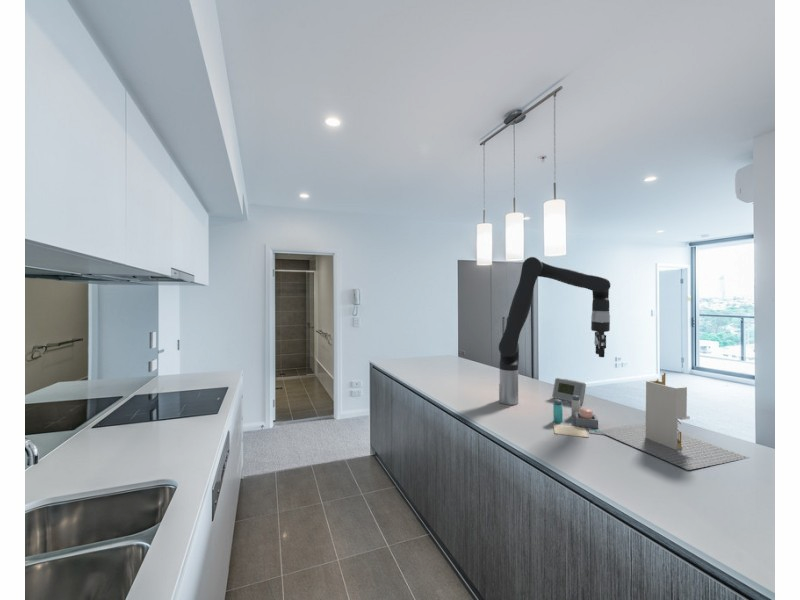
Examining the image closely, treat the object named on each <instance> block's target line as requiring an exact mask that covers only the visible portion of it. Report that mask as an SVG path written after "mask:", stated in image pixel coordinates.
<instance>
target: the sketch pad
mask: <svg viewBox="0 0 800 600" xmlns="http://www.w3.org/2000/svg"><path fill="white" fill-rule="evenodd" d="M553 431H554V432H553V433H554V434H556V435H561V436H572V437H578V438H579V437H581V438H589V435H588V432H587V428H585V427H577V426H572V425H571V426H570V425H561V424H553Z"/></svg>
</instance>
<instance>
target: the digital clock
mask: <svg viewBox="0 0 800 600" xmlns="http://www.w3.org/2000/svg"><path fill="white" fill-rule="evenodd" d="M553 383H554V384H553V390H552V396H551V397H552V399H554V400H561V401H563V402H566V401H567V403H571V404H572V395H577V396H580V405H583V404H584V400H585V394H586V387H587V384H586V383H585V382H581V381H579V380H578V381H577V380H573V379H568V378H561V377H556V378H555V379H554V382H553Z"/></svg>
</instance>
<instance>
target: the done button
mask: <svg viewBox="0 0 800 600" xmlns="http://www.w3.org/2000/svg"><path fill="white" fill-rule="evenodd" d="M593 414H594V411H593V410H592V409H590V408H580V418H587V419H593Z"/></svg>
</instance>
